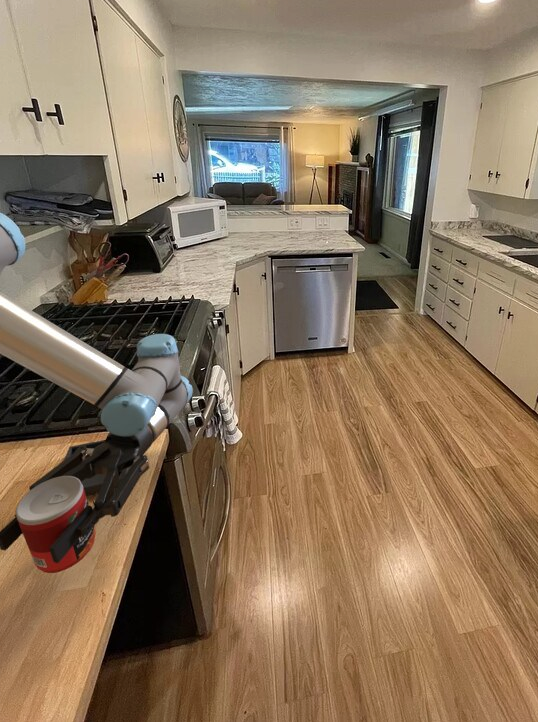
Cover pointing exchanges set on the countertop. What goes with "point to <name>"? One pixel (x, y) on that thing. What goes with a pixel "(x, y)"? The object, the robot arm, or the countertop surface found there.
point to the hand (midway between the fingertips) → (26, 549)
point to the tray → (95, 482)
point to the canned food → (53, 521)
